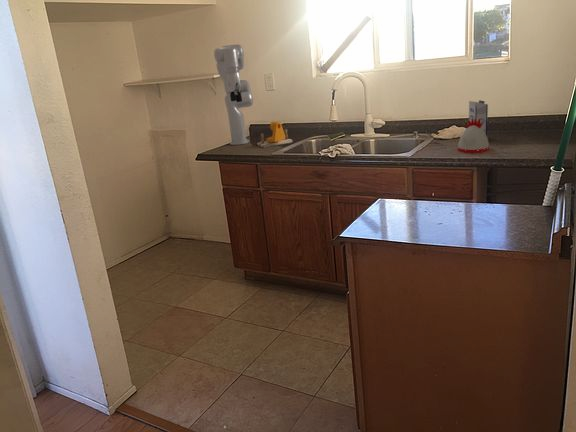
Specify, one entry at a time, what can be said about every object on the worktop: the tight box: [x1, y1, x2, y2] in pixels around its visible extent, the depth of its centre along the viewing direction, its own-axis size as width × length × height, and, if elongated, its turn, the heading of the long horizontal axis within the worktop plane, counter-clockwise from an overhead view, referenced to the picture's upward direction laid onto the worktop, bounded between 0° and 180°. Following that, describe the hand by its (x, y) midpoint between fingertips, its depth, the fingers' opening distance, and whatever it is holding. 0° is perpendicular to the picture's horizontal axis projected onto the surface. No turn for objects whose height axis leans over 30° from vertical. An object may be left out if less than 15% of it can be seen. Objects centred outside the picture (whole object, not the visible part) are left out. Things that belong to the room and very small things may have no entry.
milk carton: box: [468, 99, 489, 137], centre depth 252 cm, size 7×7×20 cm
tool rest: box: [257, 128, 293, 148], centre depth 299 cm, size 10×19×8 cm, turn 115°
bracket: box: [265, 121, 285, 143], centre depth 297 cm, size 11×7×12 cm
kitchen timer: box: [457, 118, 490, 154], centre depth 231 cm, size 14×14×15 cm
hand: (236, 101), depth 284 cm, fingers open, 9 cm apart
